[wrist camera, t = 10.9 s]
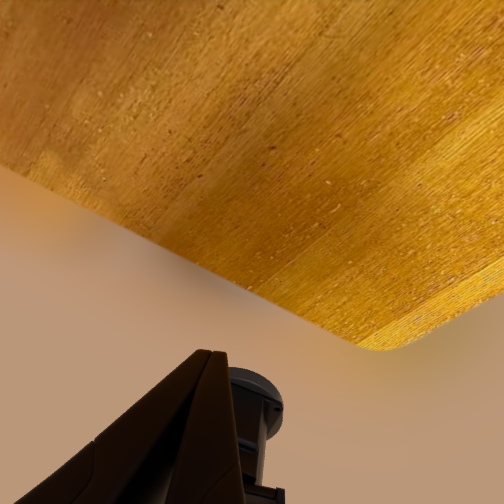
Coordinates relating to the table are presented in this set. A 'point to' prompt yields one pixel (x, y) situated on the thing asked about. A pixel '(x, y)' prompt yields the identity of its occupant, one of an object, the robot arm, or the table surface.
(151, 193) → the table surface
